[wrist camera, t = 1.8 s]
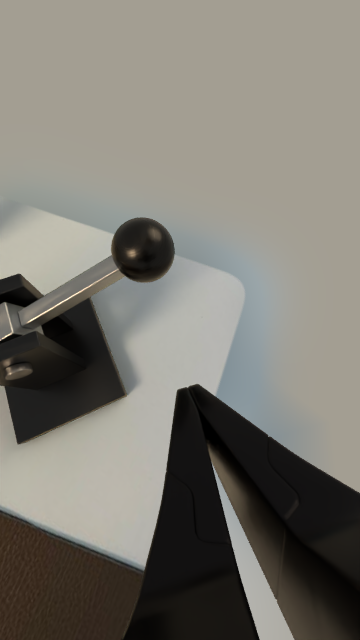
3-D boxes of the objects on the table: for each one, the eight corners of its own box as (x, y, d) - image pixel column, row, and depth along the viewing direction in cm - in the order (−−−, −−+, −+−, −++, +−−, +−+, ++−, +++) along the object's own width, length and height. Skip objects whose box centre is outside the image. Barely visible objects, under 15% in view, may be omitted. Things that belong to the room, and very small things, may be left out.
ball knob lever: (167, 229, 16) (146, 190, 12) (190, 272, 15) (175, 244, 11) (11, 322, 18) (-45, 310, 14) (22, 367, 16) (-35, 366, 13)
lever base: (86, 287, 25) (43, 219, 16) (127, 395, 22) (101, 387, 13) (-4, 319, 23) (-111, 262, 14) (25, 442, 20) (-91, 473, 11)
